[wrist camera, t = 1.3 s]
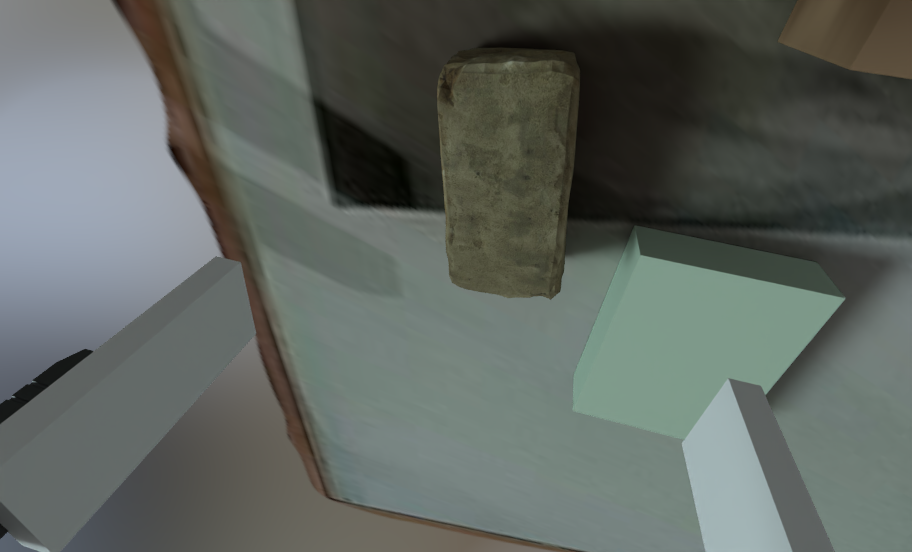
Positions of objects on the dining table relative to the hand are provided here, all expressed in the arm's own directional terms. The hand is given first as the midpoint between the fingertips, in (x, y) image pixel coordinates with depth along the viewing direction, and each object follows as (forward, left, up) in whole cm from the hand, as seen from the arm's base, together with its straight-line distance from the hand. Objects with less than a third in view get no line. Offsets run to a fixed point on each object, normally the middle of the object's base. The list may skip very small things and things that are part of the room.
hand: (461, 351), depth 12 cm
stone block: (0, 0, -14) cm, 14 cm away
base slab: (+8, +11, -14) cm, 19 cm away
